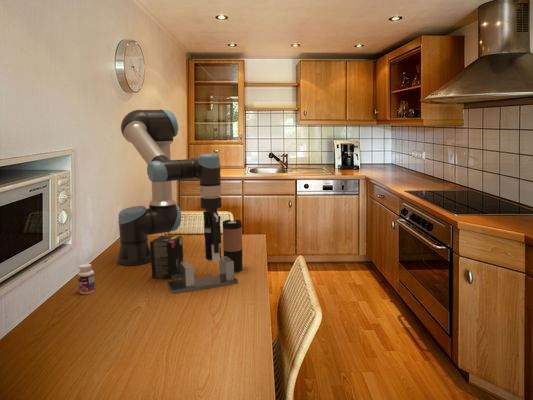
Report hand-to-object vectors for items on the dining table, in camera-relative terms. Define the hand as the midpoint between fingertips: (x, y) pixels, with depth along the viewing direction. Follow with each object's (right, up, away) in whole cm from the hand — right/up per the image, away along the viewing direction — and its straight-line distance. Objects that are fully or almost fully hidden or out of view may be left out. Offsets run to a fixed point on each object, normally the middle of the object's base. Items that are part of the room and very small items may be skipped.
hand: (213, 259), depth 171 cm
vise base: (-4, -9, 0) cm, 10 cm away
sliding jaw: (-11, -9, -3) cm, 14 cm away
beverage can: (0, -1, 0) cm, 1 cm away
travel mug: (+6, -7, +16) cm, 18 cm away
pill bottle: (-44, -11, -6) cm, 46 cm away
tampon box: (-19, -8, +12) cm, 24 cm away
